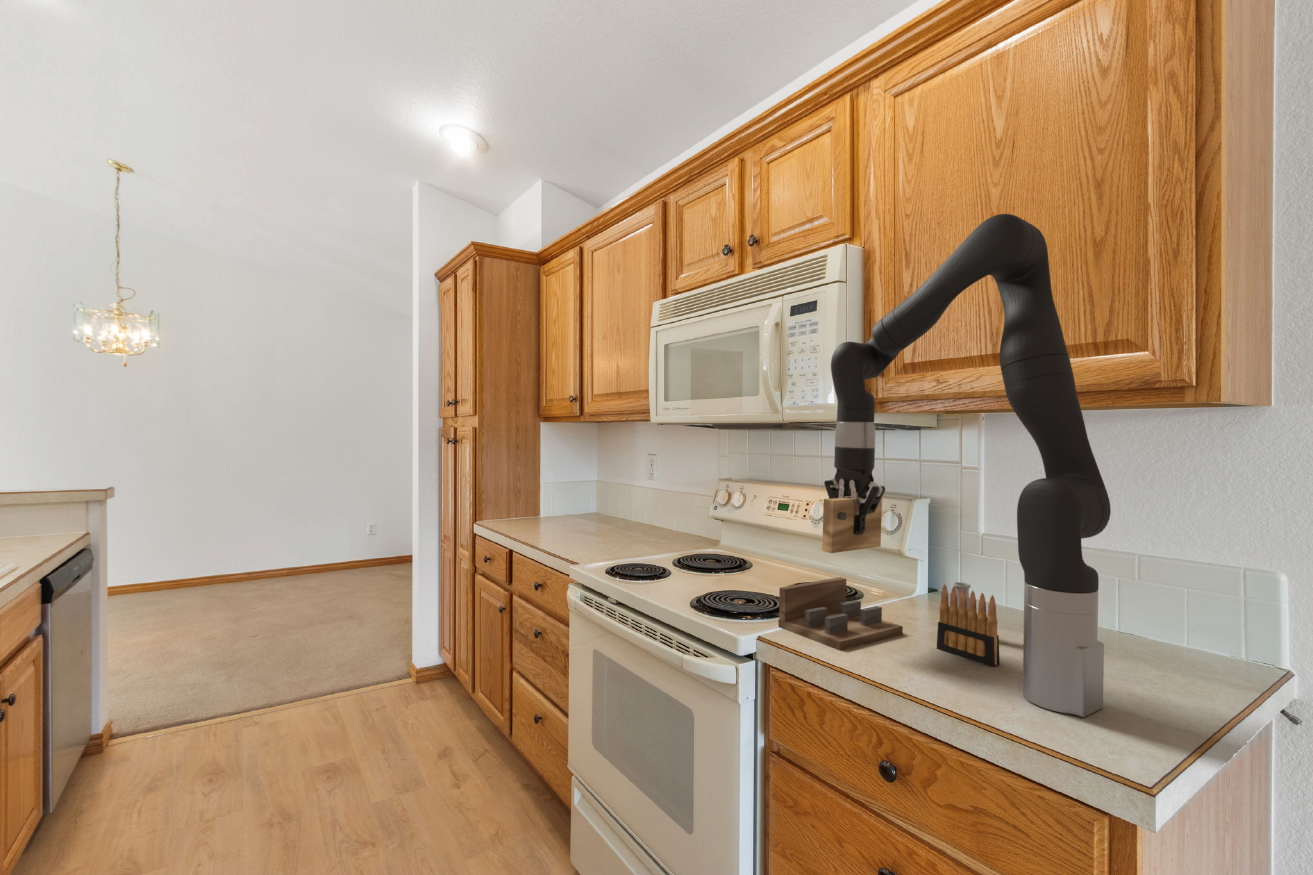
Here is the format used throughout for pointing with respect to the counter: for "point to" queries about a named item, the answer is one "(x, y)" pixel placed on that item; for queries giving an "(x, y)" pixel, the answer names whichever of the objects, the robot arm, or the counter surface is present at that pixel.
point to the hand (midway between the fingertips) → (852, 532)
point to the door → (848, 527)
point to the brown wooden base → (831, 615)
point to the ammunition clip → (968, 628)
